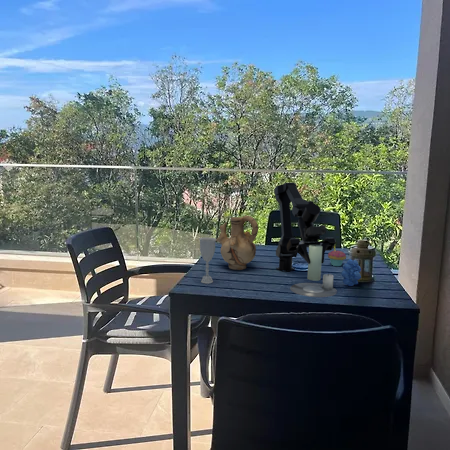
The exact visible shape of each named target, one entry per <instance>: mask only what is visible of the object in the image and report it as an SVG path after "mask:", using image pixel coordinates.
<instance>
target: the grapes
mask: <svg viewBox="0 0 450 450" xmlns="http://www.w3.org/2000/svg"><path fill="white" fill-rule="evenodd" d="M342 269H343V270H342V271H341V272H340V274H341V277H342V283H343V284H344V285H346V286H349V287H352V286H354V285H359V282H358V281H359V280H360V279H362V276H361V271H362V268H361V266H360V265H359V262H358V260H356V259H354V260H353V259H351V258H349V259H347V261H346V263H343V264H342Z"/></svg>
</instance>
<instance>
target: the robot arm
mask: <svg viewBox="0 0 450 450" xmlns="http://www.w3.org/2000/svg"><path fill="white" fill-rule="evenodd" d="M273 191H274V192H273V194H274V196H275V201H276V202H277V204H278V205H279V212H280V224H281V225H280V227H281V237H280V239H279V241H278V245H277V247H276V249H275V256H276V257H277V258H278V259H279V260H278V261H279V262H278V267H276V270H277V271H282V272H291V271H294V270H295V269H296V267H293V258H297V256H298V255H300V256H301V257H302V258H303V259H304V260H305V262H306V263H307V265H308V264H310V258H309V251H308V248H309V245H321V246H322V263H321V265H323V264H324V262H325V252H326V251H327V252H328V251H329V252H330V251H333V250H334V246H335V247H336V244H337V241H336V239H335V237H324V239H323V240H322V241H321V239H320V238H321V236H323V235H324V234H326V233H327V226H326V225H325V224H321V225H319V226H314V223H315V222H316V221H317V218H318V217H319V215H320V213H321V207H320V206H319V205H318V204H317V203H315V202H314V200H311V201H310V200H306V199H304V198H303V197H302V194H301V193H300V191H299V189H298V187H297V184H296V183H295V182H284V183H283V184H280V185H279V184H278V185H277V186H275V187H274V190H273ZM291 204H292V207H291ZM291 213H292V214H291ZM291 215H293V217H295V218H298V220H297V227H299V231H300V232H299V233H300V235H299V236H300V238H301V239H302V240H301V239H300V238H299V237H294V235H293V231H292V230H293V227H292V216H291Z"/></svg>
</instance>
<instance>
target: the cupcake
mask: <svg viewBox="0 0 450 450" xmlns="http://www.w3.org/2000/svg"><path fill="white" fill-rule="evenodd" d="M327 258H329V261H330V265H331V266H332V265H333V267H342V266H343V262H344V260H346V259H347V254H346V253H345V252H343V251H341V250H336V245H335V246H334V247H333V250H330V251H329V252H328V254H327Z"/></svg>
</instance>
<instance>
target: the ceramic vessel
mask: <svg viewBox="0 0 450 450" xmlns="http://www.w3.org/2000/svg"><path fill="white" fill-rule="evenodd" d="M246 222H248V223H249V224H250V225H251V232H250V231H245V229H244V226H245V223H246ZM227 224H228V223H227V221H226V222H224V223H223V224H220V226H219V229H220V233H219V236H218V237H217V238H215V239H216V241H215V242H217V243H220V245H221V247H220V255H221V257H222V258H223V260H224V262H225V263H228V264H227V265H228V268H229V269H230V270H236V271H242V270H245V269H247V264H249V263H251V261H253V260H254V259H255V257H256V253H257V246H256V244H255V243H254V242H255V240H256V238H257V236H258V234H259V225H258V222H257V221H256V219H255V218H253V217H252V216H250V215H244V216H240V217H239V216H238V217H237V216H233V217H230V224H231V226H230V227H231V228H230V236H229V237H228V233H227Z"/></svg>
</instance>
